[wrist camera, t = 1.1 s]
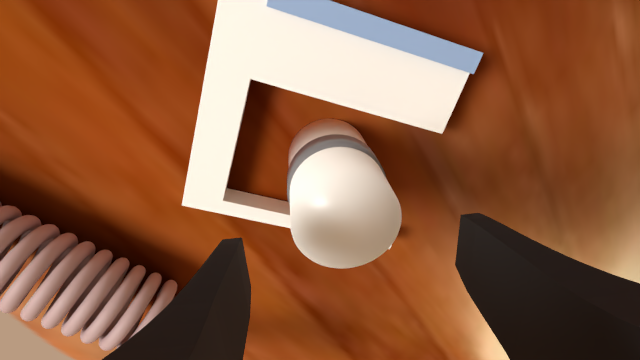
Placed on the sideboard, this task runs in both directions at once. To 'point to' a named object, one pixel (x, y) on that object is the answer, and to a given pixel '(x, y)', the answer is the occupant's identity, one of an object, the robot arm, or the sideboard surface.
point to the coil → (75, 283)
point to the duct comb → (312, 82)
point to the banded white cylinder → (339, 196)
